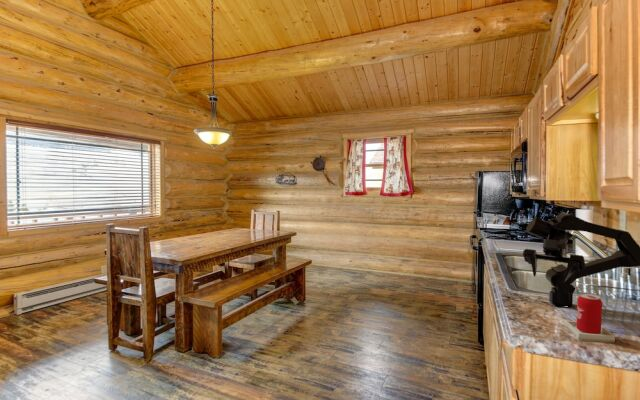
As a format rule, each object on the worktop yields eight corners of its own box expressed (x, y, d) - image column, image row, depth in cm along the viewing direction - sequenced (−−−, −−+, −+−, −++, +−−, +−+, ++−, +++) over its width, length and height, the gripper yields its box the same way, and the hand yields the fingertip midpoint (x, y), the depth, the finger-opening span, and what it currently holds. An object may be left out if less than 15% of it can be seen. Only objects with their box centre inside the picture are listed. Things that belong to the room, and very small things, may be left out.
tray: (597, 328, 115) (597, 322, 114) (614, 342, 105) (614, 336, 105) (565, 326, 117) (565, 320, 117) (578, 339, 108) (578, 333, 108)
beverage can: (587, 326, 115) (589, 291, 114) (606, 335, 109) (607, 298, 108) (571, 328, 114) (572, 293, 113) (588, 337, 108) (590, 300, 107)
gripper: (524, 228, 134) (515, 262, 127) (585, 233, 121) (579, 271, 114) (529, 244, 140) (521, 277, 133) (587, 251, 127) (581, 288, 120)
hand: (548, 278), depth 125 cm, fingers open, 9 cm apart
